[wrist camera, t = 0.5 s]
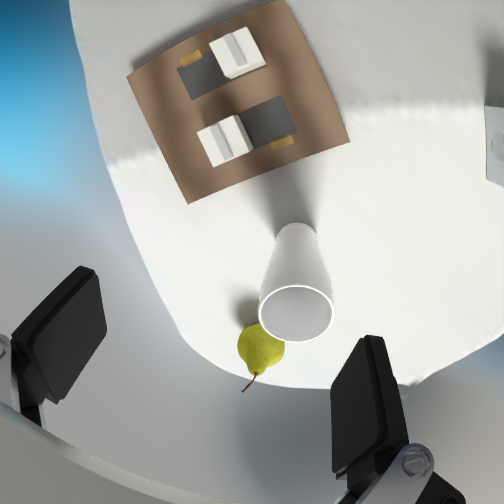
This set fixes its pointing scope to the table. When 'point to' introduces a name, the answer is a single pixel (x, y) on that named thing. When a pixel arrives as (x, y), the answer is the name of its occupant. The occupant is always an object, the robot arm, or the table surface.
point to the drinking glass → (296, 288)
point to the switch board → (238, 102)
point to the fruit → (259, 349)
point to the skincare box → (495, 144)
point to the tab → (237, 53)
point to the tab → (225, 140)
